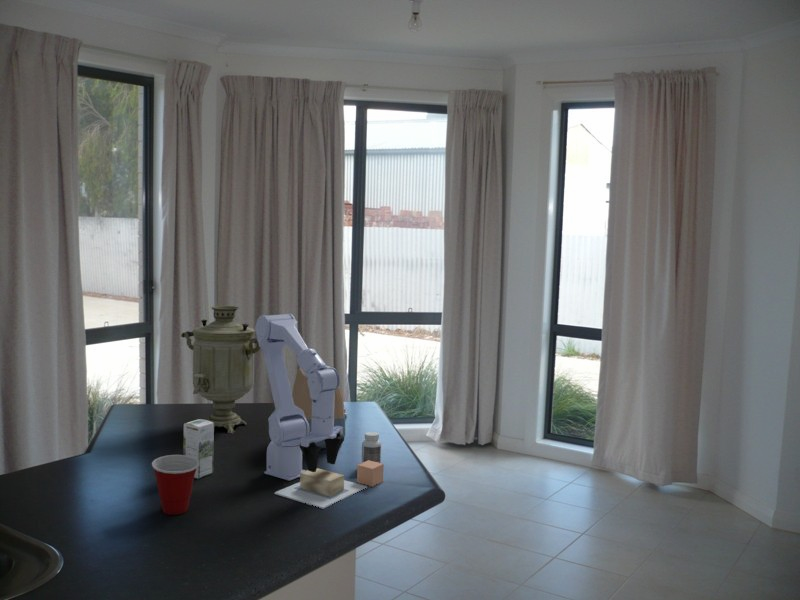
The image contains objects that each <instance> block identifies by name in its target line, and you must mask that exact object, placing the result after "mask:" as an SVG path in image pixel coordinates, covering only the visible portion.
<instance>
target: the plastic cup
mask: <svg viewBox="0 0 800 600" xmlns="http://www.w3.org/2000/svg"><path fill="white" fill-rule="evenodd" d="M151 466H152V468H153V470H154V474H155V479H156V484H157V485H156V486H157V489H158V490H157V491H158V496H159V500H160V504H161V509H162V512H163V513H164V514H165V515H173V516H174V515H180V514H183V513H185V512H187V511H188V510H189V506H190V499H191V495H192V491H193V486H194V479H195V478H194V475H195V471H196V469H197V467H198V466H199V461H198V460H197V459H195V458H194V457H190V456H186V455H183V454H169V455H168V454H167V455H164V456H160V457H158V458H155V459H153V461H152V462H151Z"/></svg>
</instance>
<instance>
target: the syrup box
mask: <svg viewBox="0 0 800 600" xmlns="http://www.w3.org/2000/svg"><path fill="white" fill-rule="evenodd" d="M207 420H208V419H201V418H200V419H199V418H198V419H195V420H191V421H188V422H185V423H183V442H182V443H183V445H182V446H183V447H182V448H183V450H182V452H183V454H182V455H186V456H190V457H194V458H195V459H197V460H198V461H199V466H198V467H197V469H196V471H195V475H194V479H201V478H204V477H206V476H209V475H212V474H213V473H214V448H215V447H214V446H215V445H214V442H215V441H214V440H215V439H214V436H215V435H214V432H215V427H214V423H213V422H210V421H207Z"/></svg>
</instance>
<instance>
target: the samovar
mask: <svg viewBox="0 0 800 600" xmlns="http://www.w3.org/2000/svg"><path fill="white" fill-rule="evenodd" d="M210 308H211V310H212V311H213V317H214V319H215V321H212V322H210V323H208V325H207V322H208V320H207V319H204V318H203V319H202V320H200V322H201V324H202V326H198V327H196V328H193V329H192V331H189V330H187V331H186V332H182V333H181V335H180V336H181V338H185V339H186V345H187V346H188V348H189V349H190V350H192V353H193V354H192V360H193V362H192V384H193V388H194V389H193V392H192V394H194V395H196V394H199V395H200V396H201V397H202V398H204V399H206V400H208V401H210V402H212V408H213V409H215V410H216V412H214V413H212V414H211V416H209V417H208V418H207V419H206V420H207V421H210V422H213V423H214V428H215V427H218V428H221V427H224V428H225V429H226V430H227V434H234V433H235V430H234V427H235V425H239V424H244V425H245V426H246V425H247V422H246V421H245V420H242V418H241V416H240V415H238V414H237V413H236V412H235V411H234V412H233V411H232V409H234V408H235V407H236V401H237V400H239V399H241V398H243V397H245V395H246V394H248V393H249V392H250V391H251V390H252V388H253V386H254V382H255V380H254V375H255V374H254V371H255V370H254V368H255V367H254V365H255V363H254V362H255V354H256V353H258V352H259V351H260V350H261V348H260V347H259V343H258V339H257V337H256V338H254V336H255V333H256V330H255V328H253V327H249V324H248V323H242V325H241V324H239V323H238V322H237V321H234V319H235V317H236V311H237V310H238V309H239V307H238V306H235V305H214V306H210ZM191 337H194V339H195V340H194V342H193V344H192V338H191ZM255 344H256V346H255ZM233 432H234V433H233Z"/></svg>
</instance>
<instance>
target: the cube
mask: <svg viewBox="0 0 800 600" xmlns="http://www.w3.org/2000/svg"><path fill="white" fill-rule="evenodd" d="M357 482H358V483H357ZM383 482H384V463H378V462H374V461H370V460H368V461H365V462H363V463H362V462H361V463H359V464H357V472H356V483H357V484H360V483H362V484H361V485H363V484H366V485H365V486H367V485H369V486H368V487H371V486H373V487H375V486H377V485H379V484H381V483H383ZM376 484H377V485H376ZM374 485H375V486H374Z"/></svg>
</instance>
